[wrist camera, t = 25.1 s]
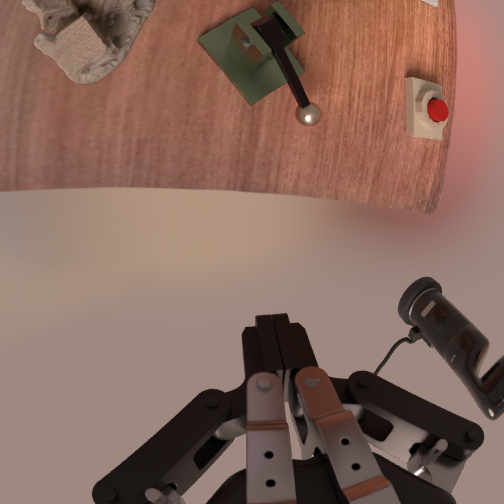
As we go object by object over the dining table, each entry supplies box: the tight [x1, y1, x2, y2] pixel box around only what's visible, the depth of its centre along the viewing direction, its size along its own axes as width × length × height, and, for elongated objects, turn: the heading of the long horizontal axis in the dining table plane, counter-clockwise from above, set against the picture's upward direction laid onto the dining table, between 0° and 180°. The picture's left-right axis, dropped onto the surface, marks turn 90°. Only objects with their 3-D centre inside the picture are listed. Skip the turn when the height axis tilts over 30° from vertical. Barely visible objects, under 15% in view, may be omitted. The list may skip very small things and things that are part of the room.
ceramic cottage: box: [22, 0, 155, 84], centre depth 20 cm, size 16×16×15 cm
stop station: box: [405, 77, 448, 140], centre depth 36 cm, size 10×7×4 cm
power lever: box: [250, 16, 322, 126], centre depth 27 cm, size 15×3×3 cm, turn 38°
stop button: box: [427, 99, 449, 121], centre depth 33 cm, size 4×4×2 cm
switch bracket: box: [197, 1, 305, 106], centre depth 26 cm, size 12×9×13 cm
